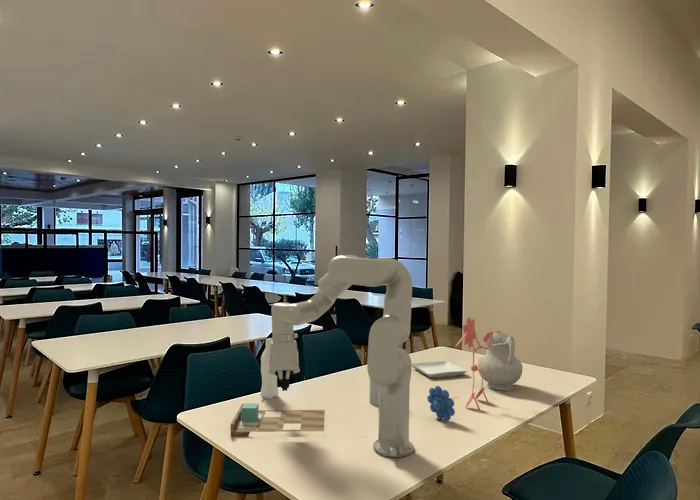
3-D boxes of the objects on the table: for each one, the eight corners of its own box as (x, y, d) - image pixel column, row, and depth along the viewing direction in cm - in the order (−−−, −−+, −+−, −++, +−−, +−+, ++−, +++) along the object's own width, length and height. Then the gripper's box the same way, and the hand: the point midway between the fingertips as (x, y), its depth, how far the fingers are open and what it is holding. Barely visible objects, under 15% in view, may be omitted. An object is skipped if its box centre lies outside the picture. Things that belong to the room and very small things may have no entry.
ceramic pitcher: (534, 395, 205) (538, 337, 205) (498, 396, 198) (502, 337, 198) (501, 381, 225) (505, 329, 225) (467, 382, 218) (471, 328, 218)
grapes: (420, 418, 174) (420, 385, 174) (431, 413, 179) (431, 381, 178) (447, 426, 166) (448, 392, 166) (458, 421, 170) (458, 388, 170)
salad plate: (409, 369, 243) (410, 362, 243) (446, 366, 249) (446, 360, 249) (428, 380, 222) (428, 373, 222) (468, 377, 229) (468, 370, 229)
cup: (388, 406, 186) (388, 376, 185) (367, 405, 187) (368, 375, 187) (390, 400, 194) (390, 371, 193) (371, 398, 195) (371, 370, 195)
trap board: (323, 435, 158) (323, 423, 157) (230, 436, 156) (230, 424, 156) (324, 413, 177) (324, 403, 177) (242, 414, 176) (242, 403, 176)
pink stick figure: (498, 398, 196) (497, 314, 196) (473, 416, 176) (471, 322, 176) (464, 392, 206) (462, 312, 206) (436, 408, 185) (434, 319, 185)
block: (256, 422, 165) (256, 408, 165) (241, 422, 164) (241, 408, 164) (258, 417, 170) (258, 403, 170) (244, 417, 169) (244, 403, 169)
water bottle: (256, 400, 192) (257, 339, 192) (267, 395, 198) (268, 336, 198) (271, 403, 189) (271, 341, 188) (281, 398, 195) (282, 338, 195)
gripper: (304, 335, 171) (306, 385, 170) (263, 337, 170) (265, 387, 170) (303, 338, 163) (305, 391, 163) (260, 340, 162) (262, 394, 162)
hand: (284, 389), depth 166 cm, fingers closed
